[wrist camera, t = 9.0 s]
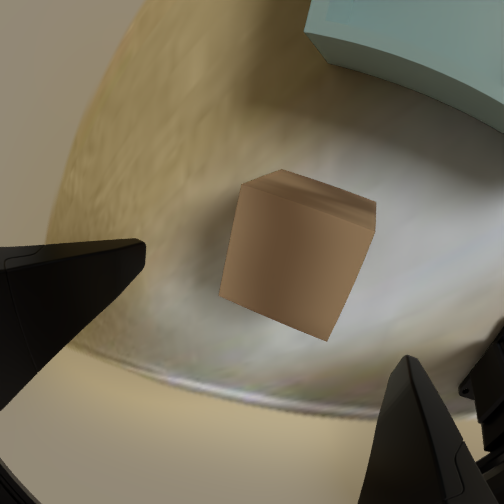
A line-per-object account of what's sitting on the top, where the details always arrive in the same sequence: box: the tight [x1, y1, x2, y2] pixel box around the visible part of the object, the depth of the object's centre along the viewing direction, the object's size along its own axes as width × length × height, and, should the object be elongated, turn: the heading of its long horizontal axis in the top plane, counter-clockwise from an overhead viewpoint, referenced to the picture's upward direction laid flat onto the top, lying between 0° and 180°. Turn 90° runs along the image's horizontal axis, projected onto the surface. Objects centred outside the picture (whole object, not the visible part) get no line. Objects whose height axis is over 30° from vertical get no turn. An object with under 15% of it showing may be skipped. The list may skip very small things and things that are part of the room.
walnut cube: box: [219, 169, 376, 342], centre depth 14 cm, size 5×5×5 cm
